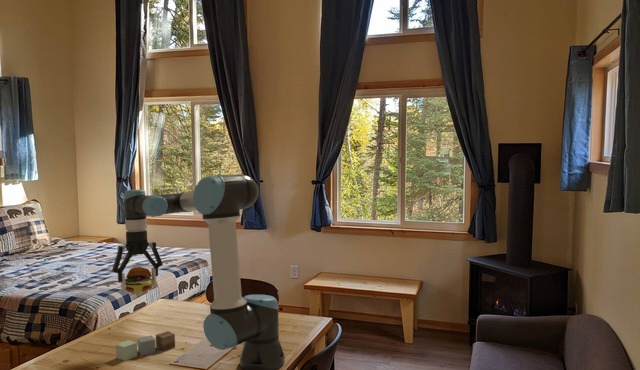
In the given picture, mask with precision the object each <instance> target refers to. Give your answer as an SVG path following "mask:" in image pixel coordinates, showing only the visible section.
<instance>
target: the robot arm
mask: <svg viewBox="0 0 640 370" xmlns="http://www.w3.org/2000/svg"><path fill="white" fill-rule="evenodd" d="M257 184H258V183H256V181H255V180H254V179H253V178H252V177H250V176H249V175H245V174H223V175H222V174H215V175H210V176H204V177H203V178H201V179H200V180H199V181H198V182H197V183H196V185H195V187H194V190H190V191H189V190H188V191H184V192H179V193H165V194H154V195H150V194H149V195H146V191H145V190H144V189H127V190H125V191H124V197H123V198H124V199H123V202H124V216H125V217H124V218H125V230H126V232H125V242H126V243H125V244H124V245H117V253H116V256H115V257H116V258H115V260H114V261H113V262H114V263H113V266H112V268H111V269H112V270H111V271H112V272H113V273H115V274H117V281H118V282H119V283H120V289H121V291H123V292H126V285H125V279H126V277H125V272H124V270H125V269H126V267H127V266H128V264H129V262H130V259H131V258H132V257H133V256H138V255H140V256H141V255H144V257H145V258H146V260H147V261H148V262H149V263H150V264H151V266H152V267H151V269H150V270H151V271H150V273H151V276H152V277H151V279H152V282H153V284H152V286H154V287H156V286H157V277H159V268H160V267H162V266H163V265H164V264H163V261H162V258H161V256H160V254H159V251H158V249H157V243H156V241H151V242H149V241H148V231H147V230H146V229H147V228H148V227H147V226H148V224H147V217H148V216H149V217H152V218H154V217H161V216H163V215H171V214H181V213H188V212H193V211H197V212H198V213H199V214H201V215H202V220H203V221H204V222H206V224H207V225H208V227H207V228H208V237H209V238H208V239H209V250H210V261H211V262H210V264H211V274H212V286H213V288H212V289H213V301H212V302H211V303H210V305H209V310H210V311H209V312H210V314H208V315H206V317H205V318H204V320H203V324H202V325H203V326H202V328H203V333H204V336H205V337H206V339H207V341H208V342H209V343H210V345H211V346H212V347H214V348H215V349H217V350H221V351H222V350H223V351H224V350H225V351H226V350H228V349H233V348H235V347H236V346H239V345H241V344H242V343H243V347H242V350H241V354H240V356H239V366H240V368H241V369H242V370H277V369H280V368H282V367H283V366H284V365H285V361H286V360H285V353H284V350H283V347H282V344H281V341H280V337H279V336H280V332H279V329H280V328H279V326H280V324H279V323H280V322H279V310H280V309H279V304H278V300H277V298H276V297H274V296H272V295H267V294H248V295H244V296H242V285H241V283H242V282H241V271H240V270H241V269H240V260H239V258H240V257H239V247H238V233H237V232H238V231H237V221H238V220H239V219H240V217H241V213H240V212H241V210H246V209H248V208H250V207H252V206H253V205H254V204H255V203H256V202H257V199H258V197H259V187H258V185H257ZM148 247H149V248H151V251H152V253H153V256H154V258H155V260H156V261H155V260H154V258H153V257H152V256H151V255H150V253H149V252H148V250H147V249H148ZM125 250H126V251H127V253H125V254H126V255H125V257H124V258H123V253H124V252H125ZM122 258H123V261H121V260H122Z"/></svg>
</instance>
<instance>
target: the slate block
mask: <svg viewBox="0 0 640 370" xmlns="http://www.w3.org/2000/svg"><path fill="white" fill-rule="evenodd" d="M137 353H139V355H140V356H147V355H151V354H155V353H156V338H154V337H153V335H147V336H142V337H139V338H137Z"/></svg>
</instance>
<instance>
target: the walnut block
mask: <svg viewBox="0 0 640 370" xmlns="http://www.w3.org/2000/svg"><path fill="white" fill-rule="evenodd" d="M156 348H157V349H159V350H160V351H162V352H163V351H167V350H171V349H173V348H176V334H175V333H174V332H171V331H168V330H167V331H164V332H161V333H157V334H155V349H156Z"/></svg>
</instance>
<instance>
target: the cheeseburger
mask: <svg viewBox="0 0 640 370" xmlns="http://www.w3.org/2000/svg"><path fill="white" fill-rule="evenodd" d="M152 284H153V282H152V272H151V271H150V270H149V269H148V268H145V267H141V266H136V267H135V266H134V267H132V268H130V269H129V270H128V272H127V274H126V277H125V292H126V291H127V292H128V293H134V294H135V295H136V294H138V295H139V294H142V293H144V292H146V291H149V290H151V289H153V285H152Z"/></svg>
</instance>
